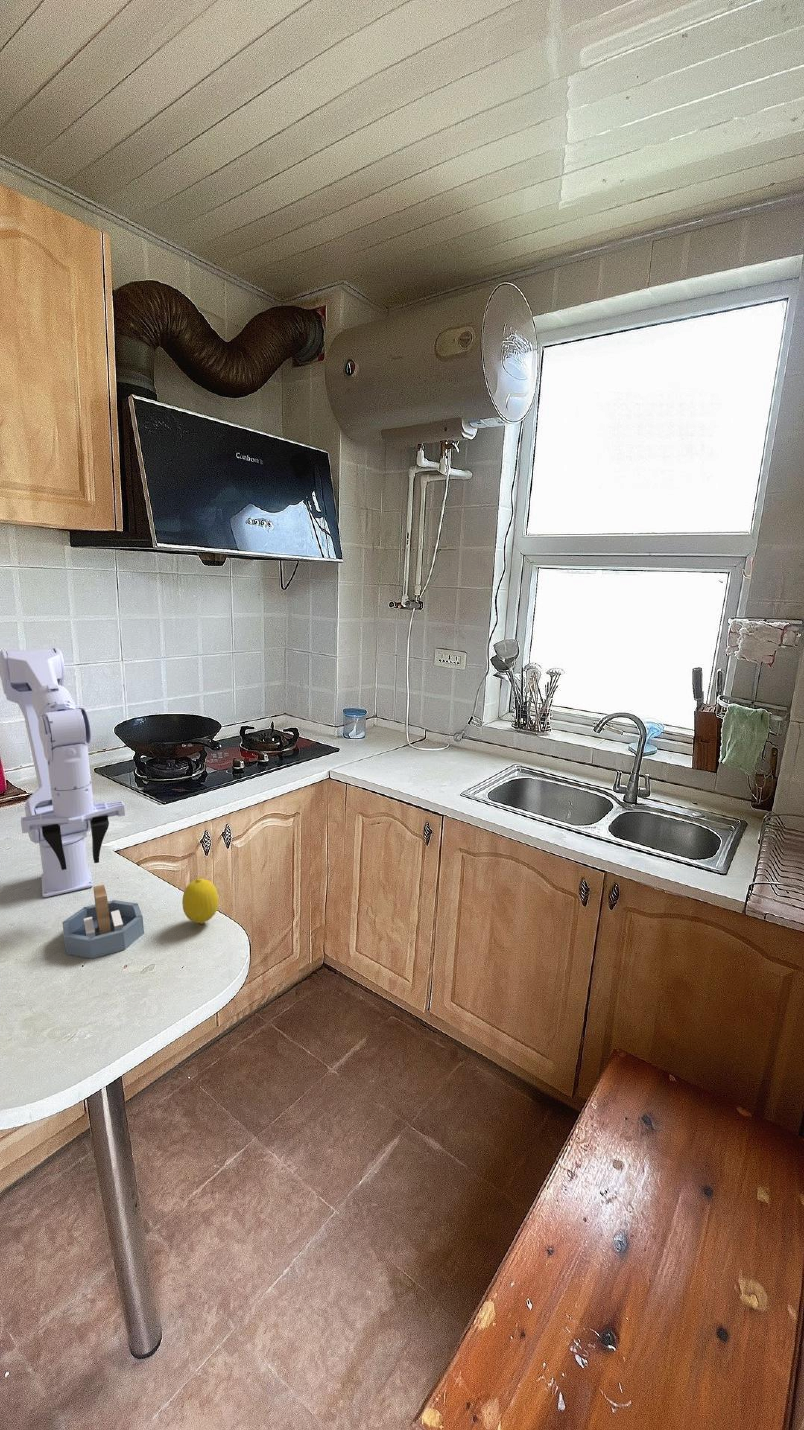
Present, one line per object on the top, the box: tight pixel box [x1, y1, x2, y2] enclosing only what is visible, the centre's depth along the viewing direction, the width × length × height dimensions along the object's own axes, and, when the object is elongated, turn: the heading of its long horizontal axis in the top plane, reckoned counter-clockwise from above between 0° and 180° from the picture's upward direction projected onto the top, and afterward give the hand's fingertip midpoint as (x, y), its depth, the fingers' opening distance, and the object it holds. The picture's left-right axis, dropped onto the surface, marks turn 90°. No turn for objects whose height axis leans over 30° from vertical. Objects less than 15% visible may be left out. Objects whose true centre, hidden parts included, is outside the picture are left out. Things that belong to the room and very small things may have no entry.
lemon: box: [181, 877, 219, 925], centre depth 98 cm, size 6×6×8 cm
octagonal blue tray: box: [61, 899, 145, 960], centre depth 94 cm, size 11×11×3 cm
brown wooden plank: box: [92, 884, 111, 935], centre depth 94 cm, size 4×2×7 cm, turn 32°
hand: (80, 863), depth 98 cm, fingers open, 4 cm apart
